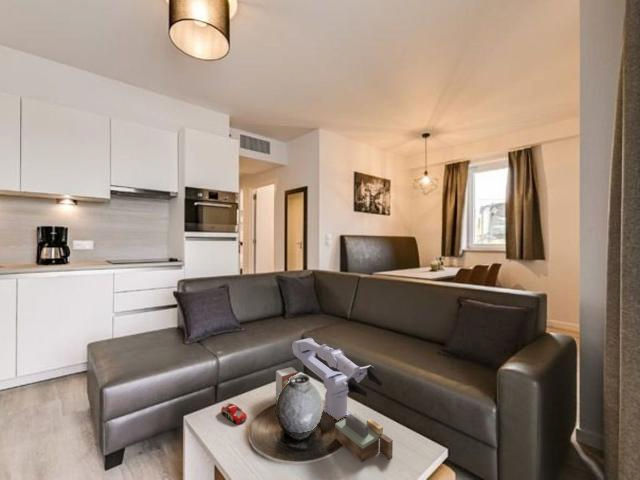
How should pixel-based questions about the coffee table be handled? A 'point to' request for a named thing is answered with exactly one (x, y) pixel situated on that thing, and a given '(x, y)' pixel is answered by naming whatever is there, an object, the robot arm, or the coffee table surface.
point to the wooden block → (374, 426)
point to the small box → (283, 378)
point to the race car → (233, 413)
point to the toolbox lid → (357, 430)
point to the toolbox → (369, 450)
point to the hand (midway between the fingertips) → (373, 388)
